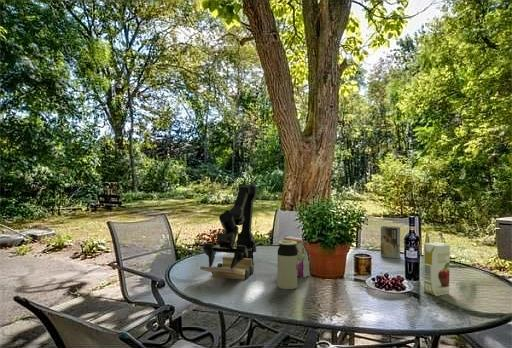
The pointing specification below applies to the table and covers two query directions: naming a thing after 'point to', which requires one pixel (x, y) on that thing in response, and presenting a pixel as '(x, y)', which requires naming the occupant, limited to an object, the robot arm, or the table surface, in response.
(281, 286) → the travel mug
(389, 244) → the coffee box
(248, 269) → the cart bed
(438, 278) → the juice carton
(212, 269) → the tailgate
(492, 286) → the table surface
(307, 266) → the spray bottle
